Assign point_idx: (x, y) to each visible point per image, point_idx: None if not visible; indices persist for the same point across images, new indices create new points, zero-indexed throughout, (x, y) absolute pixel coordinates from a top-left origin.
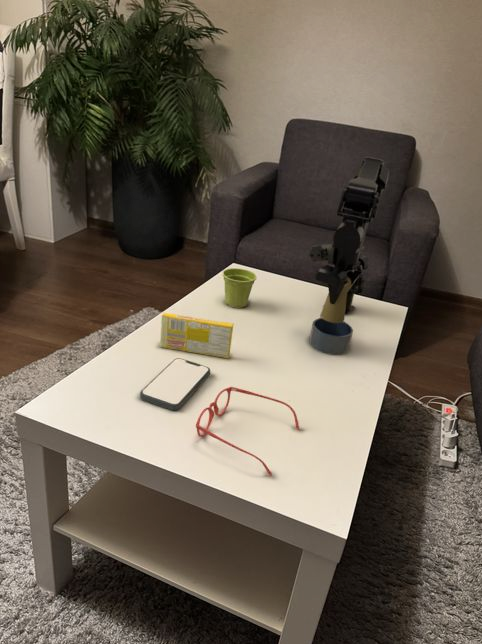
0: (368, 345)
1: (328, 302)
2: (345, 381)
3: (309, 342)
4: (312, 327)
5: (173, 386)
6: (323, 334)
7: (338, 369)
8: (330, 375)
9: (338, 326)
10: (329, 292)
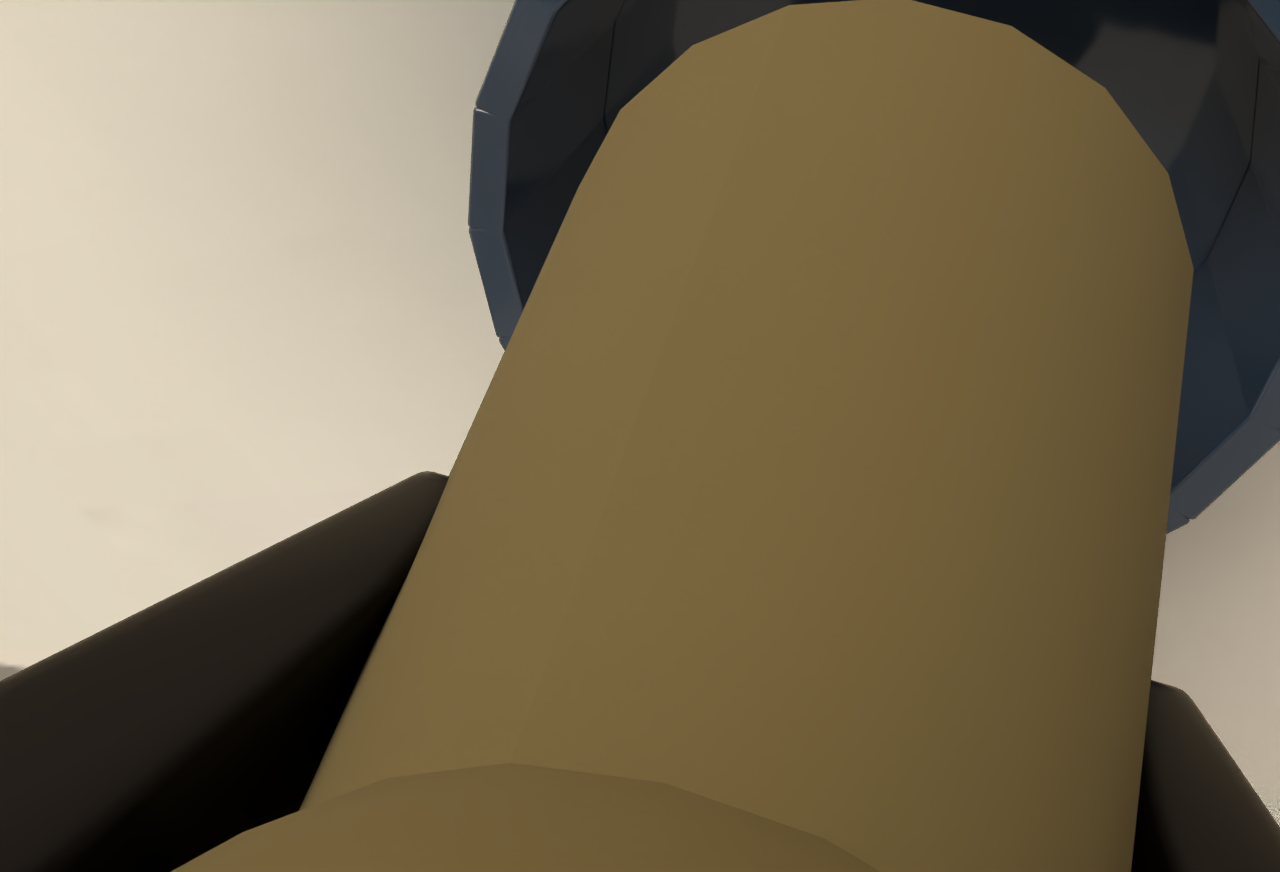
0: (1198, 634)
1: (487, 406)
2: (183, 446)
3: None
4: None
5: None
6: (480, 151)
7: (336, 356)
8: (158, 296)
9: (1262, 289)
10: (24, 695)
